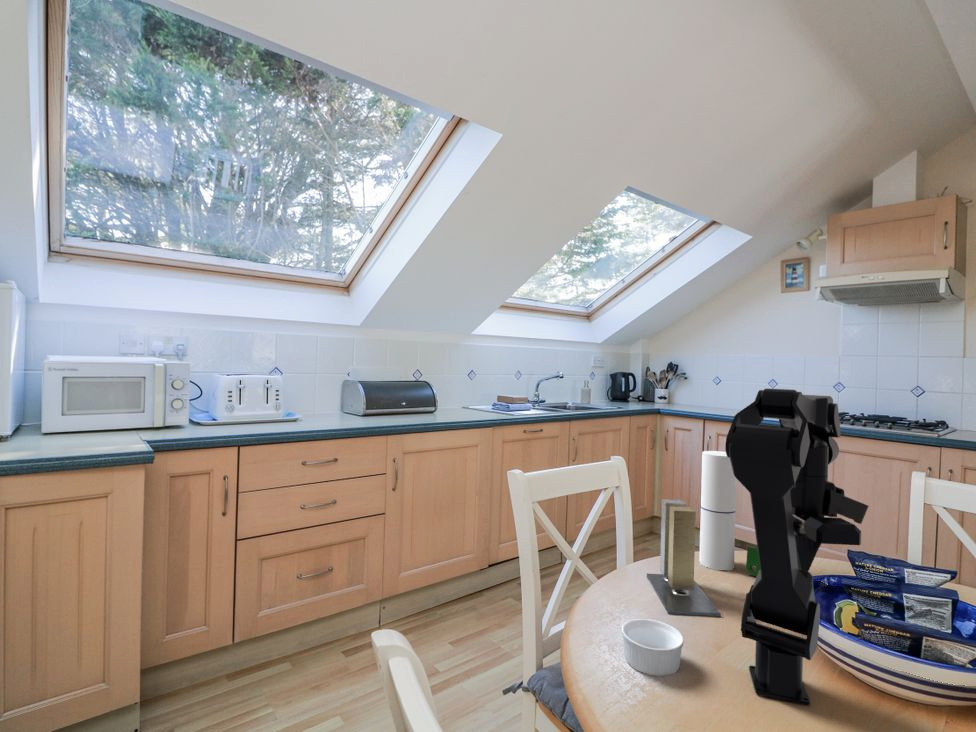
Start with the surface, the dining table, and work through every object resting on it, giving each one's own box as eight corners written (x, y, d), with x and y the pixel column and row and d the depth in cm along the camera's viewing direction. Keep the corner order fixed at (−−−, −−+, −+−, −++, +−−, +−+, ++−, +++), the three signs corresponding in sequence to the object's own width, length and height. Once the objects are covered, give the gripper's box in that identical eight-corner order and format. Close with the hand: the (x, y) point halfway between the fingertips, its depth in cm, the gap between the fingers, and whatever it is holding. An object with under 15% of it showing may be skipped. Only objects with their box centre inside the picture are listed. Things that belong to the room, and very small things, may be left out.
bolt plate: (720, 616, 92) (722, 523, 92) (668, 613, 92) (670, 521, 92) (690, 578, 108) (692, 499, 108) (646, 576, 109) (648, 497, 109)
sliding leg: (693, 593, 99) (695, 511, 99) (672, 592, 99) (674, 510, 99) (688, 587, 102) (690, 507, 102) (667, 586, 102) (669, 506, 102)
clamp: (797, 600, 109) (819, 563, 109) (794, 603, 104) (817, 565, 104) (741, 564, 117) (762, 529, 116) (736, 565, 112) (757, 529, 111)
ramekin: (684, 653, 80) (684, 625, 80) (682, 686, 72) (682, 655, 72) (625, 640, 83) (625, 613, 83) (616, 670, 75) (617, 640, 75)
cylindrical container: (702, 568, 114) (705, 455, 114) (697, 556, 121) (699, 450, 121) (737, 572, 112) (740, 457, 112) (730, 560, 119) (732, 452, 119)
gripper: (901, 488, 73) (898, 599, 73) (825, 463, 92) (822, 551, 92) (819, 485, 74) (816, 594, 74) (760, 461, 92) (758, 548, 93)
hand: (804, 570), depth 83 cm, fingers closed
